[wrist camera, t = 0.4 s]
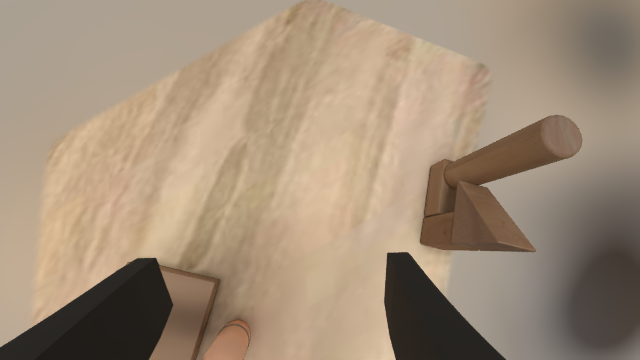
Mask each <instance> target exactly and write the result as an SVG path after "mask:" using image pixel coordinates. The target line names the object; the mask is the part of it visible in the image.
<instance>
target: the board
mask: <svg viewBox="0 0 640 360" xmlns="http://www.w3.org/2000/svg"><path fill="white" fill-rule="evenodd" d="M129 263H130V262H128V263H127V264H129ZM159 267H160V270H161V272H162V275H163V278H164V281H165V283H166V286H167V289H168V292H169V294H170V297H171V300H172V302H173V307H172V310H171V313H170V315H169V318H168V321H167V323H166V326H165V328H164V330H163V333H162V335H161V338H160V340H159V342H158V343H157V345H156V347H155V349H154V351H153V353H152V355H151V357H150V359H149V360H195V359H196V356H197V353H198V350H199V346H200V343H201V340H202V337H203V333H204V330H205V327H206V324H207V320H208V317H209V314H210V310H211V307H212V304H213V301H214V297H215V294H216V291H217V288H218V284H219V281H220V280H219V279H215V278H211V277H207V276H202V275H198V274H194V273H190V272H185V271H181V270H177V269H172V268H168V267H164V266H160V265H159Z"/></svg>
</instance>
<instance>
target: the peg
mask: <svg viewBox="0 0 640 360" xmlns="http://www.w3.org/2000/svg"><path fill="white" fill-rule="evenodd" d="M249 341H250V330H249V328H248V326H247V324H246V323H245V322H243V321H241V320H236V321H231V322H229V323H227V324H226V325H225V326H224V327H223V329H222V330H221V331H220V332H219V334H218V335H217V337H216V339H215V340H214V342H213V343H212V345H211V346H210V348H209V349H208V351H207V352H206V354H205V356H204V358H203V360H244V357H245V354H246V351H247V349H248V346H249Z"/></svg>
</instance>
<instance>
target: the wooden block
mask: <svg viewBox="0 0 640 360" xmlns="http://www.w3.org/2000/svg"><path fill="white" fill-rule="evenodd" d="M581 145H582V136H581V133H580V131H579V128H578V127H577V126H576V124H575V123H574V122H573V121H571V120H570V119H569V118H567V117H565V116H560V115H553V116H548V117H546V118H544V119H542V120H540V121H538V122H536V123H534V124H532V125H529V126H527V127H525V128H523V129H521V130H519V131H517V132H515V133H513V134H511V135H508V136H506V137H504V138H502V139H500V140H498V141H496V142H494V143H492V144H490V145H488V146H486V147H483V148H481V149H479V150H477V151H475V152H473V153H471V154H469V155H467V156H465V157H463V158H461V159H458V160H456V161H450V160H446V159H444V160H442V161H440V162H438V163H436V164H434V165H432V166H431V171H430V178H429V185H428V193H427V200H426V207H425V216H426V217H425V218H424V221H423V228H422V236H421V244H423V245H426V246H430V247H434V248H439V249H443V250H470V251H478V250H480V251H513V252H514V251H515V252H535V251H536V250H535V248H534V247H533V246H532V245H531V243H530V242H529V241H528V239H527V238H526V237H525V236H524V234H523V233H522V232H521V230H520V229H519V228H518V227H517V225H516V224H515V223H514V221H513V220H512V219H511V218H510V216H509V215H508V214H507V212H506V211H505V210H504V208H503V207H502V206H501V205H500V203H499V202H498V201H497V200H496V198H495V197H494V196H493V194H492V193H491V192H490V190H489V189H488V188H486V187H483V186H479V185H481V184H484V183H487V182H491V181H494V180H497V179H501V178H504V177H507V176H511V175H514V174H517V173H520V172H523V171H526V170H530V169H533V168H537V167H540V166H543V165H547V164H550V163H553V162H557V161H560V160H563V159H567V158H570V157H572V156H574V155H575V154H576V153H577V152H578V151H579V150H580V148H581Z"/></svg>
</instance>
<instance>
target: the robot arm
mask: <svg viewBox="0 0 640 360" xmlns="http://www.w3.org/2000/svg"><path fill="white" fill-rule="evenodd" d="M384 303H385V310H386V317H387V323H388V329H389V335H390V339H391V343H392V347H393V350H394V354H395V358H396V360H506V359H505V358H504V357H503V356H502V355H501V354H499V353H498V352H497V351H496V350H495V349H494V348H493V347H492V346H491V345H490V344H489V343H488V342H487V341H486V340H485V339H484V338H483V337H482V336H481V335H480V334H479V333H478V332H477V331H476V330H475V329H474V328H473V327H472V326H471V325H470V324H469V323H468V321H467V320H466V319H465V318H464V317H463V316H462V315H461V314H460V313H459V312H458V311H457V310H456V308H454V306H453V305H452V304H451V303H450V302H449V301H448V300H447V298H446V297H445V296H444V295H443V294H442V293H441V292H440V291H439V289H438V288H437V287H436V286H435V285H434V283H433V282H432V281H431V280H430V279H429V277H428V276H427V275H426V274H425V273H424V271H423V270H422V269H421V268H420V266H419V265H418V264H417V263H416V261H415V260H414V259H413V257H412V256H411V255H410V254H409V253H408V252H398V253H387V266H386V281H385V297H384ZM172 307H173V302H172V300H171V297H170V294H169V292H168V289H167V286H166V283H165V281H164V278H163V275H162V272H161V270H160V267H159V264H158V262H157V259H156V258H137V259H136V260H134V261H132V262H130V263H129V264H127V265H126V266H124V267H122V268H121V269H119V270H118V271H116V272H115V273H113V274H112V275H110V276H109V277H107V278H106V279H104V280H103V281H101V282H100V283H98V284H97V285H95V286H94V287H93V288H91V289H90V290H88V291H87V292H85V293H84V294H82V295H81V296H79V297H78V298H76V299H75V300H73V301H72V302H70V303H69V304H67V305H66V306H64V307H63V308H61V309H60V310H58V311H57V312H55V313H54V314H52V315H51V316H49V317H47V318H46V319H44V320H43V321H41V322H40V323H38V324H37V325H35V326H33V327H32V328H30V329H29V330H27V331H26V332H24V333H22V334H21V335H19V336H18V337H16V338H15V339H13V340H12V341H10V342H8V343H7V344H5V345H3V346H2V347H0V360H149V359H150V357H151V355H152V353H153V351H154V349H155V347H156V345H157V343H158V342H159V340H160V338H161V335H162V333H163V330H164V328H165V326H166V323H167V321H168V318H169V315H170V313H171V310H172Z"/></svg>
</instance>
